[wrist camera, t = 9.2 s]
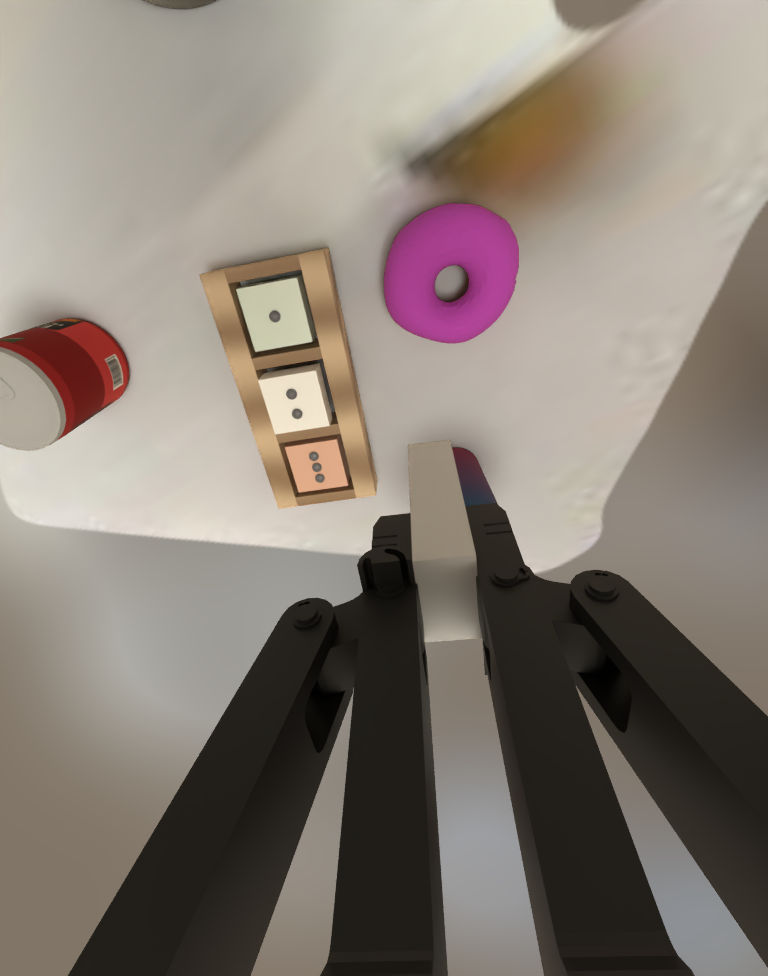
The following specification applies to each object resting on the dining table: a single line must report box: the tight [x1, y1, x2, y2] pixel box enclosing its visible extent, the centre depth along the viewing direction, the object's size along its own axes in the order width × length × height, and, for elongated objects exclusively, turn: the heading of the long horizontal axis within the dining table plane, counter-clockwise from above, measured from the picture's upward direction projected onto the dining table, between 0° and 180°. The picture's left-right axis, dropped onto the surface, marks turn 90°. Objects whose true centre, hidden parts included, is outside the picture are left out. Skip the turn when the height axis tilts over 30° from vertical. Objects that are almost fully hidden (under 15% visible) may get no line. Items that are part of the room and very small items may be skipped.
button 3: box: [285, 434, 350, 493], centre depth 47 cm, size 5×5×2 cm
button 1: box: [236, 274, 316, 352], centre depth 40 cm, size 5×5×2 cm
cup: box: [452, 447, 498, 506], centre depth 42 cm, size 7×7×15 cm
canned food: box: [0, 319, 129, 451], centre depth 39 cm, size 8×8×11 cm
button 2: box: [258, 364, 332, 434], centre depth 42 cm, size 5×5×2 cm
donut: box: [384, 203, 519, 343], centre depth 38 cm, size 10×10×4 cm
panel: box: [200, 248, 377, 509], centre depth 44 cm, size 22×10×3 cm, turn 10°
